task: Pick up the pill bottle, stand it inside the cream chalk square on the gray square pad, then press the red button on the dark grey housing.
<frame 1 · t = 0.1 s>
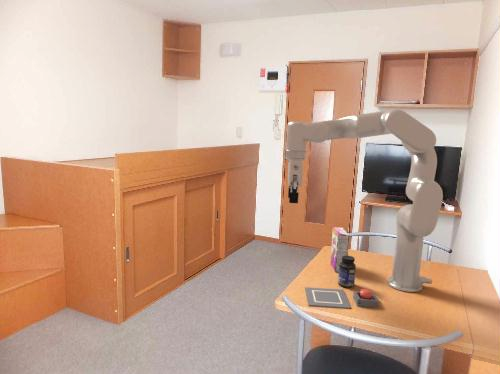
hand: (292, 200, 144), 31 cm above the table, tool pointing down, fingers open, 9 cm apart
gray square pad: (326, 297, 133), on the table
done button: (366, 294, 130), point 3 cm above the table, slide at 0.0 cm
candy bar box: (337, 268, 163), on the table
button housing: (365, 302, 131), on the table
pill bottle: (345, 285, 145), on the table
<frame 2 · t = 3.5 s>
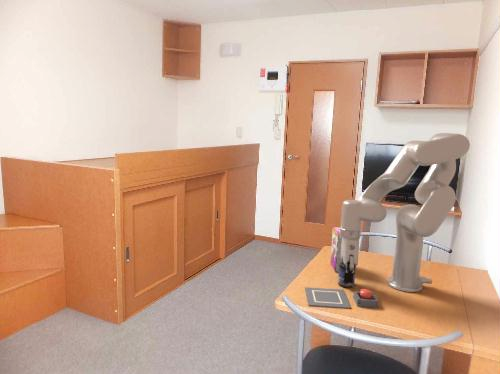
hand: (346, 278, 144), 3 cm above the table, tool pointing down, fingers closed on pill bottle, 6 cm apart
pill bottle: (345, 285, 145), on the table, touching gripper
everything else where it was.
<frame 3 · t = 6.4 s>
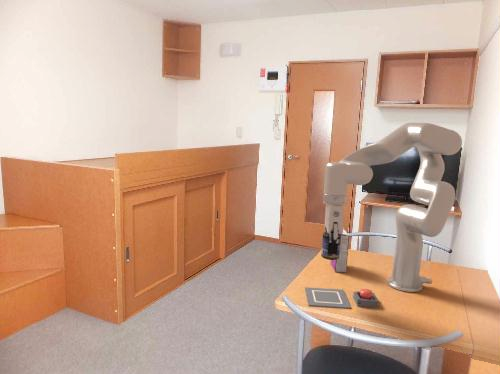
hand: (330, 250, 130), 17 cm above the table, tool pointing down, fingers closed on pill bottle, 6 cm apart
pill bottle: (329, 257, 131), point 15 cm above the table, touching gripper
everything else where it was.
when the fingers open (4 cm above the table, at t = 9.2 s): pill bottle drops 1 cm, resting on gray square pad.
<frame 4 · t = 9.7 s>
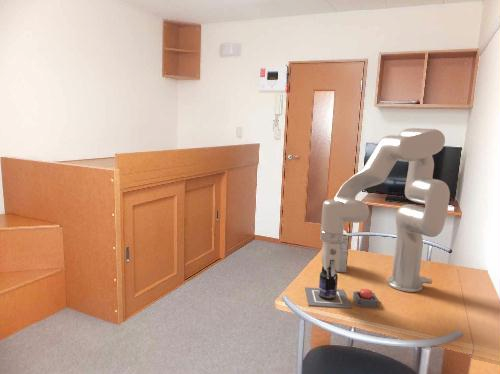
hand: (327, 283, 132), 5 cm above the table, tool pointing down, fingers open, 9 cm apart
pill bottle: (327, 297, 133), resting on gray square pad
everything else where it was.
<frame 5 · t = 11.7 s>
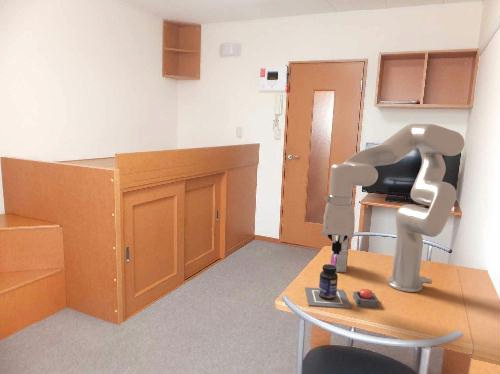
hand: (336, 253, 130), 17 cm above the table, tool pointing down, fingers closed
nothing on the table moved.
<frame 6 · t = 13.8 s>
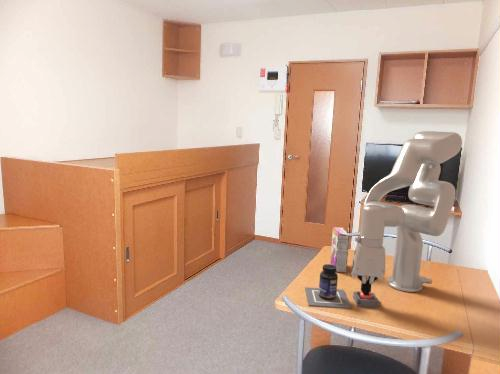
hand: (365, 293, 130), 3 cm above the table, tool pointing down, fingers closed
done button: (365, 296, 131), point 2 cm above the table, slide at 0.7 cm, touching gripper
everything else where it was.
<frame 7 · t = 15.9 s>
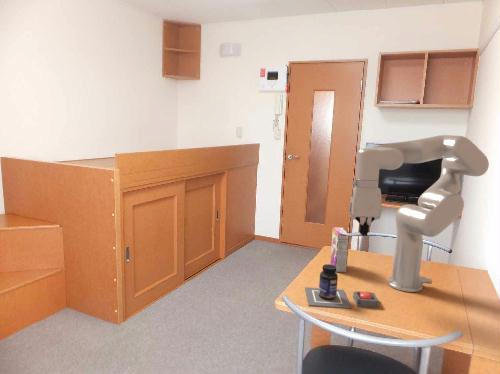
hand: (363, 234, 135), 22 cm above the table, tool pointing down, fingers closed
done button: (365, 297, 131), point 2 cm above the table, slide at 1.1 cm
everything else where it was.
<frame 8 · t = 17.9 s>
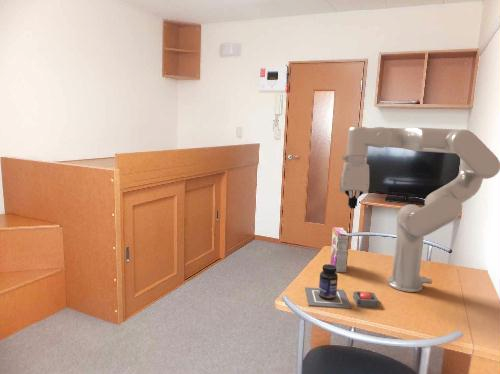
hand: (352, 207, 145), 29 cm above the table, tool pointing down, fingers closed
nothing on the table moved.
at the end: pill bottle 0.4 cm off-centre on the gray square pad, point 0.2 cm above the gray square pad's base; pill bottle tilted 0°; done button slide at 1.1 cm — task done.
